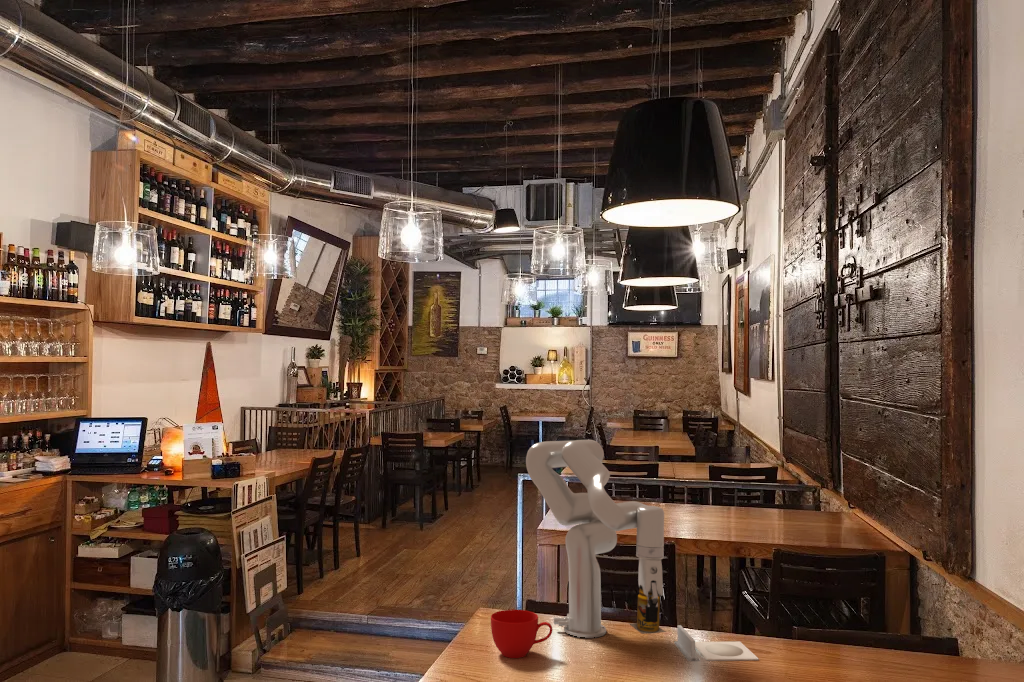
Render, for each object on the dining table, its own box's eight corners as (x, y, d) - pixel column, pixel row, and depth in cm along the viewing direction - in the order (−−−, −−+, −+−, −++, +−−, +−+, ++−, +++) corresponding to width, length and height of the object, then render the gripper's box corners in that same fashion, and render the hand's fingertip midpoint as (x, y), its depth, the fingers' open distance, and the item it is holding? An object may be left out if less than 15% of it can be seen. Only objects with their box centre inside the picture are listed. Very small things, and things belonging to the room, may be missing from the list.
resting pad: (706, 660, 188) (706, 658, 188) (691, 643, 202) (691, 641, 202) (758, 660, 189) (758, 658, 189) (740, 642, 203) (740, 641, 203)
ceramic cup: (548, 665, 185) (548, 625, 186) (485, 660, 188) (485, 621, 189) (555, 649, 197) (555, 611, 198) (496, 644, 201) (496, 608, 202)
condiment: (642, 634, 192) (643, 589, 193) (628, 624, 200) (629, 580, 201) (666, 632, 194) (667, 588, 195) (651, 622, 202) (652, 579, 203)
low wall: (688, 660, 188) (687, 641, 189) (674, 643, 202) (673, 625, 203) (699, 660, 188) (698, 641, 189) (684, 643, 202) (684, 625, 203)
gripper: (671, 559, 189) (670, 628, 188) (655, 544, 206) (654, 608, 205) (643, 558, 189) (641, 627, 188) (630, 544, 206) (628, 607, 205)
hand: (648, 616), depth 196 cm, fingers closed on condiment, 6 cm apart
